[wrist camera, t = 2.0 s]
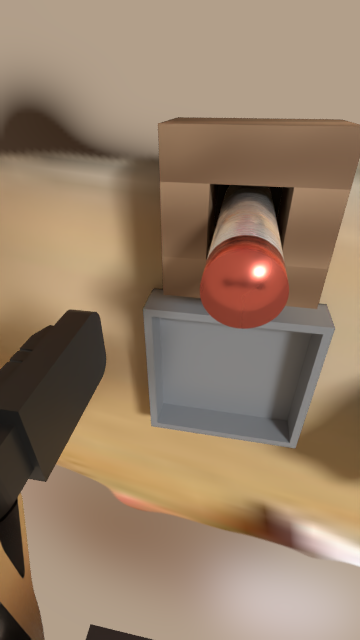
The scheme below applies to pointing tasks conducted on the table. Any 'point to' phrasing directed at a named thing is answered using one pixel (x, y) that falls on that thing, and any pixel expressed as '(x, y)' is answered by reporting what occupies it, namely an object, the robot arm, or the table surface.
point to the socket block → (255, 170)
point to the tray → (233, 370)
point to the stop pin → (245, 261)
